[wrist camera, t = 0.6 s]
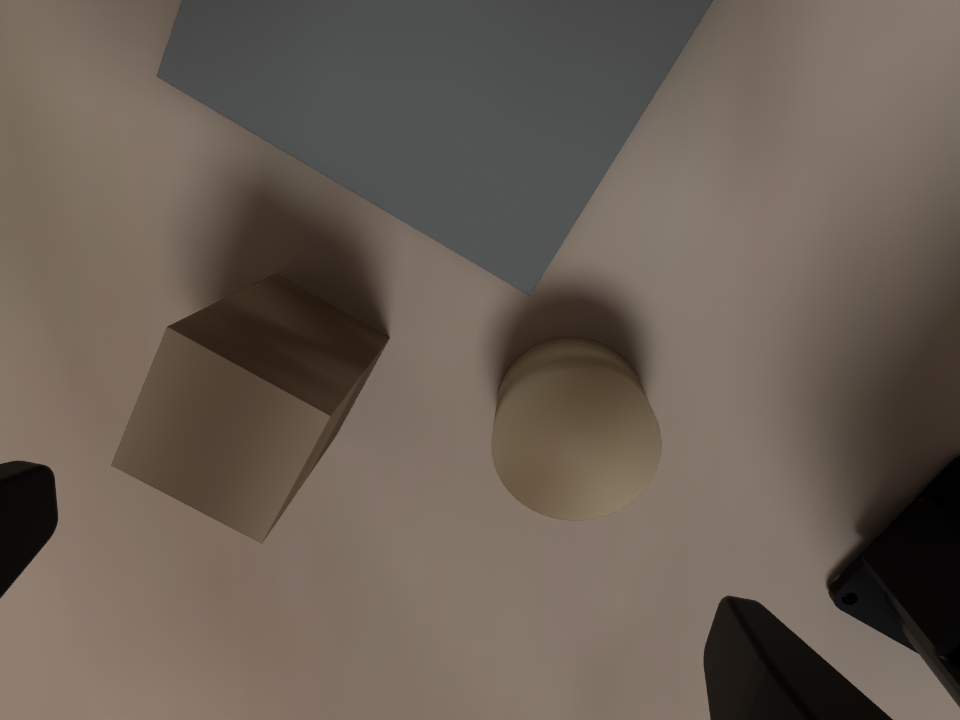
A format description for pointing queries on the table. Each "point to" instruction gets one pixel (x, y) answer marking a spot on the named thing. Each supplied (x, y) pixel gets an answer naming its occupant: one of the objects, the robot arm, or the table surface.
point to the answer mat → (441, 103)
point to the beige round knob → (574, 430)
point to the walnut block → (247, 402)
